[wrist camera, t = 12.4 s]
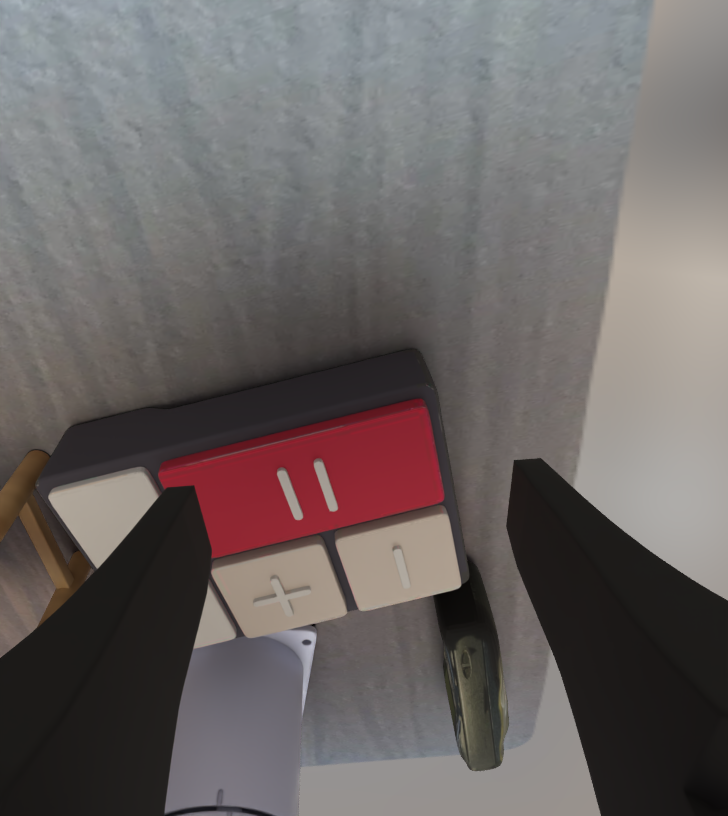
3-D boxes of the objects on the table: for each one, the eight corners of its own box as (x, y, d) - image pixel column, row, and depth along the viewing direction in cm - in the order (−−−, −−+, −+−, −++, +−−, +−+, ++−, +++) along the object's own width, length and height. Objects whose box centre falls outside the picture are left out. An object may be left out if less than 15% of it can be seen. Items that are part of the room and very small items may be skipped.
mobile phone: (433, 638, 25) (468, 801, 33) (501, 626, 25) (520, 792, 33) (418, 554, 29) (452, 716, 37) (476, 544, 29) (498, 708, 37)
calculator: (476, 597, 25) (151, 674, 26) (453, 528, 29) (168, 597, 29) (441, 391, 19) (19, 496, 20) (417, 338, 23) (61, 427, 23)
